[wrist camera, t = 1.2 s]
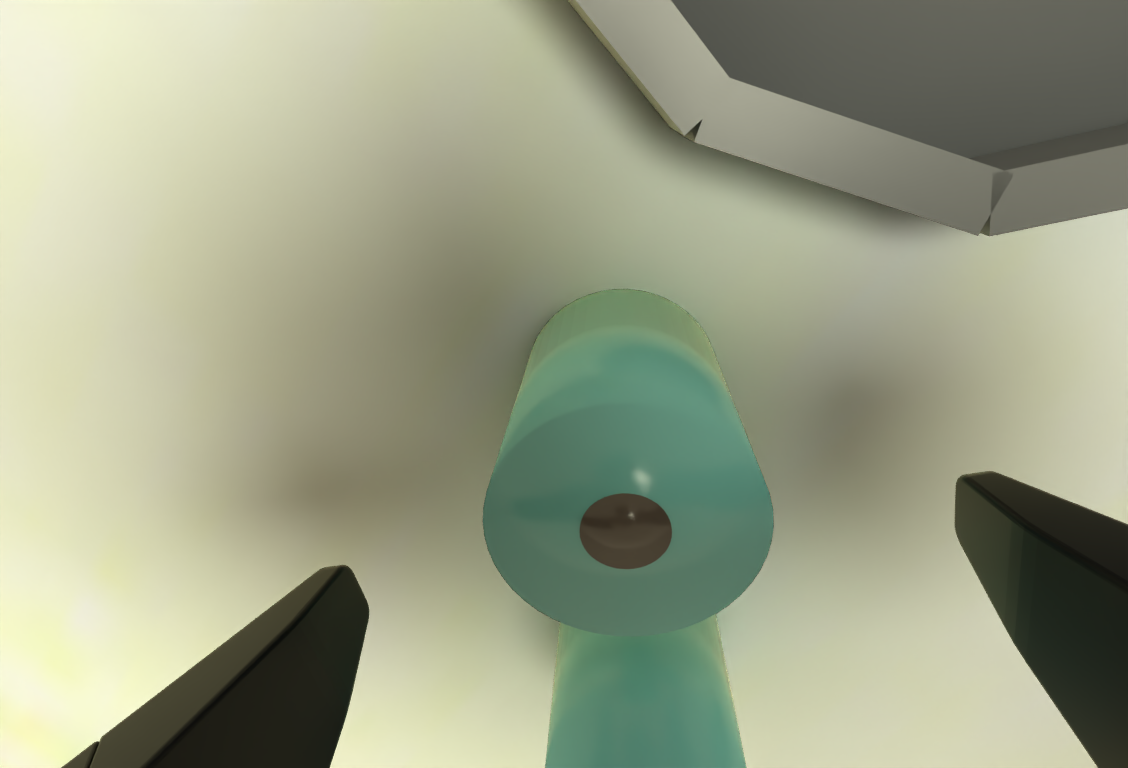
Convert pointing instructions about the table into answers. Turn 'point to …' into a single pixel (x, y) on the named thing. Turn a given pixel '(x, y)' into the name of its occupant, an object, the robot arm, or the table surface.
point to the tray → (898, 97)
